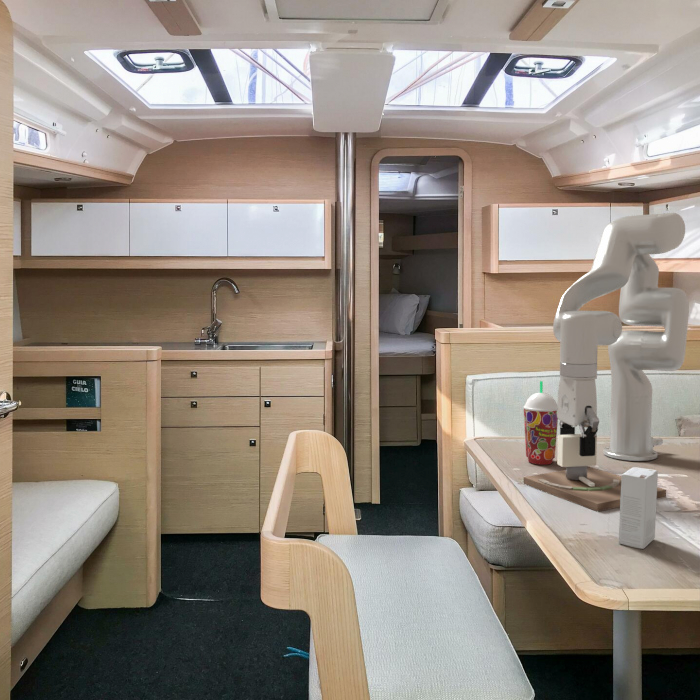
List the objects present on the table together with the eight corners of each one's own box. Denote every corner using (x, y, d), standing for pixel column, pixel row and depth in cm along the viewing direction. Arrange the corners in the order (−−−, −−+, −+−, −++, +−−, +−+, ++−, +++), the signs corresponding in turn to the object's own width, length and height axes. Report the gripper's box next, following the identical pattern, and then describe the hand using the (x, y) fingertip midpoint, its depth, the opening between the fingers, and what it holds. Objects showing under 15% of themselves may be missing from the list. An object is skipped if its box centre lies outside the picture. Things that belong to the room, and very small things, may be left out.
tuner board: (587, 472, 156) (588, 464, 156) (666, 496, 137) (666, 488, 137) (523, 483, 148) (523, 475, 148) (597, 511, 129) (597, 502, 129)
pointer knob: (555, 475, 148) (555, 434, 147) (588, 473, 148) (589, 432, 148) (574, 488, 138) (575, 444, 137) (610, 486, 139) (611, 442, 138)
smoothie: (539, 468, 160) (540, 384, 159) (515, 460, 168) (516, 380, 166) (565, 463, 164) (566, 382, 162) (541, 456, 172) (542, 378, 170)
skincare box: (629, 534, 117) (631, 465, 116) (656, 539, 114) (658, 469, 113) (617, 544, 113) (618, 473, 112) (645, 551, 110) (647, 477, 109)
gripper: (545, 367, 152) (544, 442, 153) (579, 376, 135) (577, 461, 136) (577, 366, 153) (576, 440, 154) (615, 375, 136) (613, 459, 137)
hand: (576, 450), depth 145 cm, fingers open, 9 cm apart
